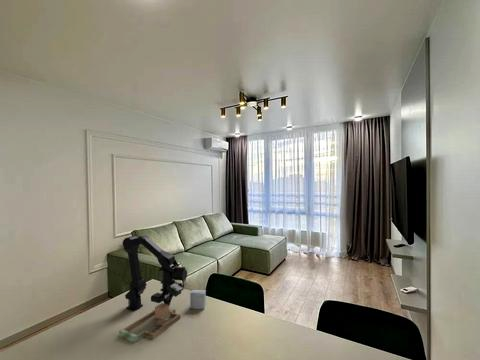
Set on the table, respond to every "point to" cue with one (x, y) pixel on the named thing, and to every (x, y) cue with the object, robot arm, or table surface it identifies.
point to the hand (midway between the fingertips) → (167, 307)
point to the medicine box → (198, 299)
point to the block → (161, 311)
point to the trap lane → (159, 325)
